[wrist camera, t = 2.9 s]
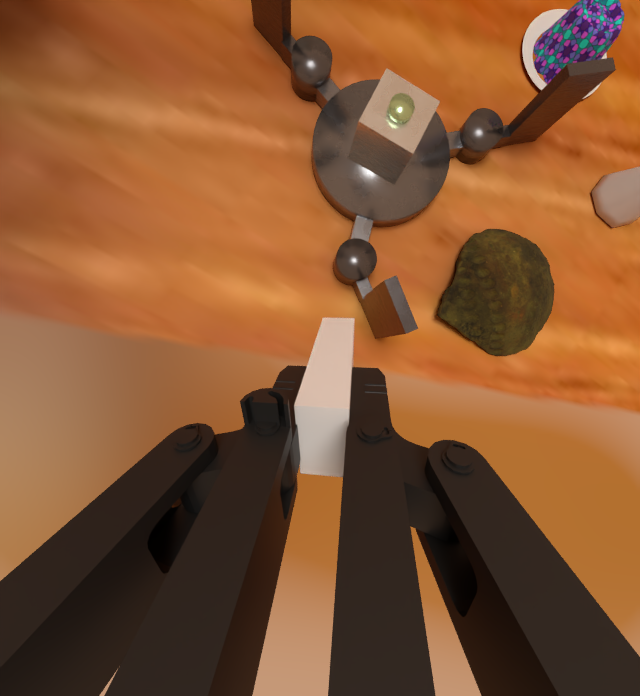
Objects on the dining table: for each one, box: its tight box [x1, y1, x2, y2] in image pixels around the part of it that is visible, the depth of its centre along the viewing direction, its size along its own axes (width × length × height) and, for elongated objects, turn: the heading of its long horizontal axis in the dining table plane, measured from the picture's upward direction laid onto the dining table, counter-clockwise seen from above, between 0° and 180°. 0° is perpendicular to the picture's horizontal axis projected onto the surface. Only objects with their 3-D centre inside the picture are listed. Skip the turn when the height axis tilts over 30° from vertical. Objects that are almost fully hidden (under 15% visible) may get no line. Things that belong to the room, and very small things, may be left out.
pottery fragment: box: [437, 229, 554, 356], centre depth 33 cm, size 14×14×4 cm
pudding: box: [522, 0, 624, 98], centre depth 34 cm, size 12×12×5 cm
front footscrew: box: [333, 238, 418, 339], centre depth 29 cm, size 11×4×9 cm, turn 23°
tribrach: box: [251, 0, 616, 242], centre depth 29 cm, size 36×25×9 cm
